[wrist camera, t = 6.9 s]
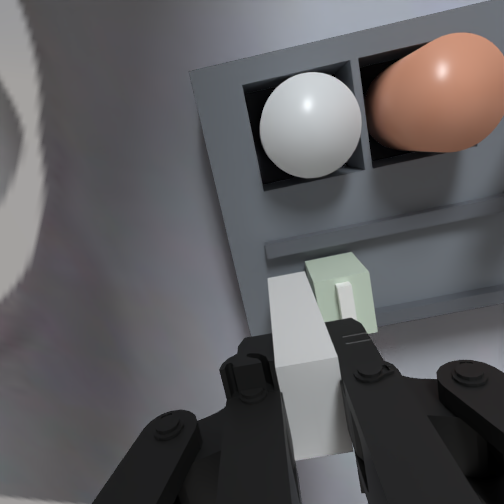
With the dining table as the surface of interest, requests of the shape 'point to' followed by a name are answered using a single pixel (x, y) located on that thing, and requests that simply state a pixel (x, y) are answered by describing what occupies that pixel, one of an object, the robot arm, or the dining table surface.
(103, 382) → the dining table surface
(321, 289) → the sage slider
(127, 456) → the robot arm
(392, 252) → the panel
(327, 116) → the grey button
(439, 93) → the terracotta button
